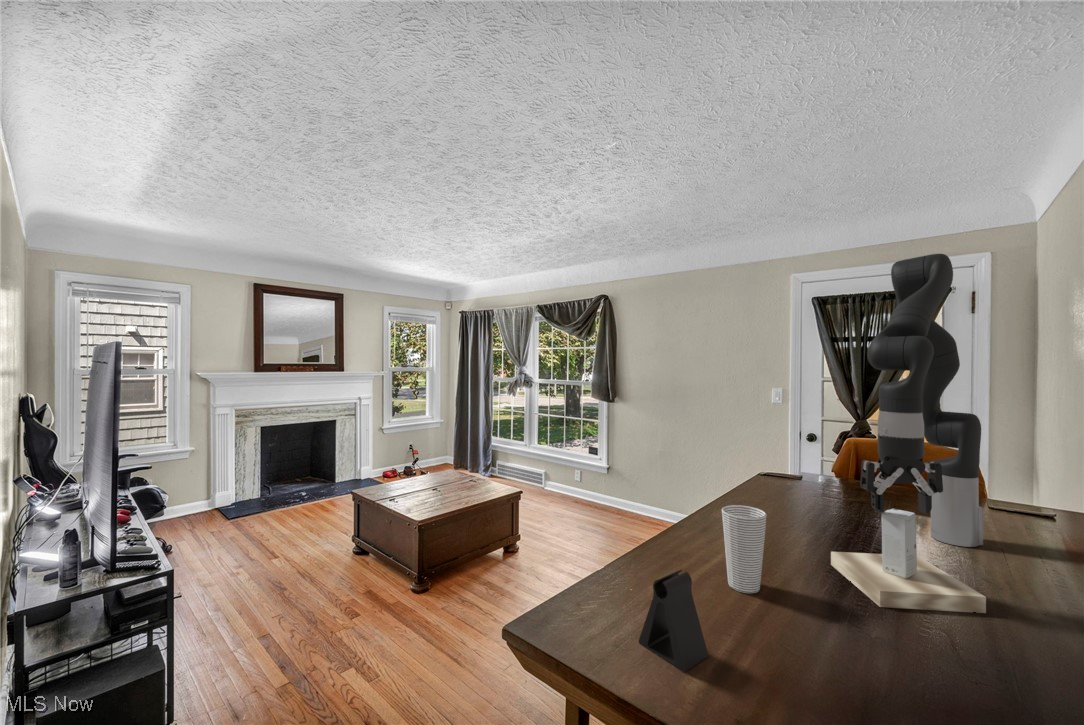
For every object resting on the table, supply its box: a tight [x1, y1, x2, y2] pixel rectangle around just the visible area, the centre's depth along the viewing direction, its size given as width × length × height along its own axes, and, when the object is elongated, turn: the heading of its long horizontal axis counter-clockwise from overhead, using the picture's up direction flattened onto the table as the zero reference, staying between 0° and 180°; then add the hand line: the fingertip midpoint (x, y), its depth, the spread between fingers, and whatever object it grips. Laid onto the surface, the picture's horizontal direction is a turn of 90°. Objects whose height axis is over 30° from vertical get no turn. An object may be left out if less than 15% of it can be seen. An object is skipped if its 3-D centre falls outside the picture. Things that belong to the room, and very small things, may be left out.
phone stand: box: [638, 568, 709, 673], centre depth 72 cm, size 9×6×12 cm, turn 36°
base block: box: [830, 551, 987, 614], centre depth 93 cm, size 18×18×3 cm
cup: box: [721, 504, 767, 594], centre depth 93 cm, size 8×8×16 cm
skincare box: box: [881, 508, 918, 579], centre depth 93 cm, size 6×4×12 cm
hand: (901, 512), depth 93 cm, fingers open, 8 cm apart
